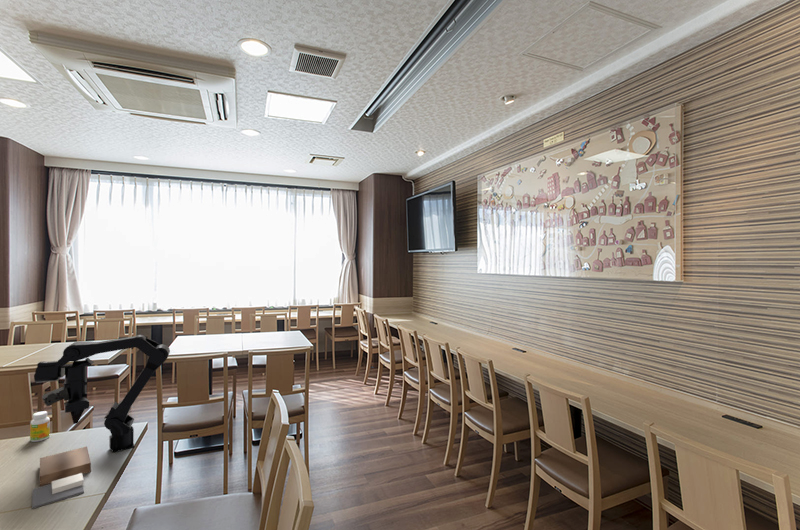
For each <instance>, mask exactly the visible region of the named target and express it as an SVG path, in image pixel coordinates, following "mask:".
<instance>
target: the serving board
mask: <svg viewBox="0 0 800 530" xmlns="http://www.w3.org/2000/svg"><path fill="white" fill-rule="evenodd" d="M91 472H92V463H91V457H90V454H89V449H88V446H84V447H79V448H74V449H72V450H71V449H70V450H67V451H62V452H59V453H55V454H50V455H47V456H43V457H39V487H41V486H45V485H48V484H52V481H55V480H59V479H62V478H66V477H69V476H73V475H76V474H80V473H82V475H85V474H88V473H91Z"/></svg>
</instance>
